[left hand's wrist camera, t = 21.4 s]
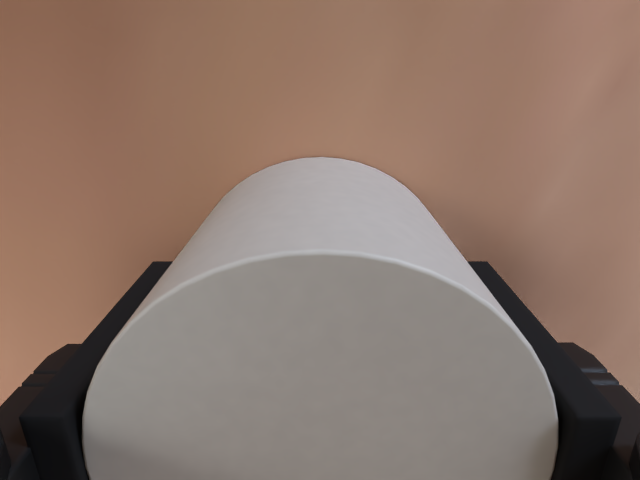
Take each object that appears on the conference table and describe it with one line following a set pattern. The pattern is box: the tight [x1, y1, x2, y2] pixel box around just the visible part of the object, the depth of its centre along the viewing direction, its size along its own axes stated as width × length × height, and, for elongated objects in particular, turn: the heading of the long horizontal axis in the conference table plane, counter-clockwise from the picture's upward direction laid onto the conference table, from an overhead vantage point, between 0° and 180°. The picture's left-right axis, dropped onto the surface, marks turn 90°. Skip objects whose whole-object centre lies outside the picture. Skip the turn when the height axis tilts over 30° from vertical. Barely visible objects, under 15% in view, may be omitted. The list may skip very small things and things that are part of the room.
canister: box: [82, 157, 558, 480], centre depth 12 cm, size 9×9×8 cm
